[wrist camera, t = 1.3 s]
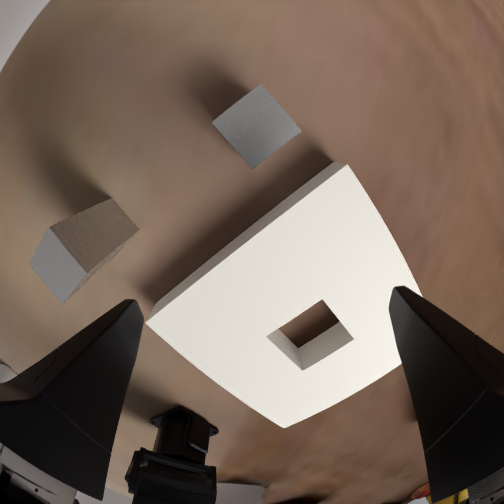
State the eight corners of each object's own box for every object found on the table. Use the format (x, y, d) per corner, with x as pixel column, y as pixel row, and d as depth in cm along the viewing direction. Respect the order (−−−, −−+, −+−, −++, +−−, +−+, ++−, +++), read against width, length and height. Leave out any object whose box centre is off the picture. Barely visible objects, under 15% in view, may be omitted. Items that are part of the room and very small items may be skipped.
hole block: (281, 407, 27) (283, 428, 25) (156, 302, 23) (145, 322, 20) (424, 318, 23) (438, 335, 21) (333, 161, 18) (347, 164, 16)
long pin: (115, 255, 21) (62, 304, 14) (89, 225, 20) (28, 263, 13) (139, 229, 20) (87, 273, 13) (112, 197, 19) (49, 227, 12)
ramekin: (41, 400, 31) (31, 418, 27) (17, 396, 32) (8, 410, 27) (11, 360, 28) (-3, 377, 24) (-10, 359, 28) (-22, 373, 24)
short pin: (252, 165, 19) (252, 169, 14) (220, 128, 18) (211, 122, 14) (290, 135, 18) (301, 131, 14) (259, 98, 17) (261, 83, 13)
